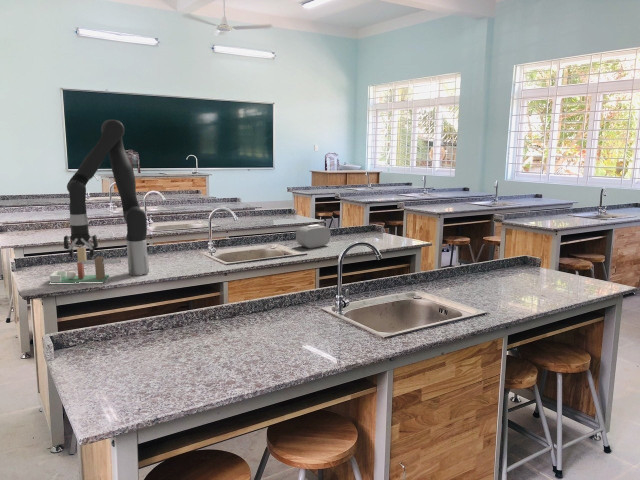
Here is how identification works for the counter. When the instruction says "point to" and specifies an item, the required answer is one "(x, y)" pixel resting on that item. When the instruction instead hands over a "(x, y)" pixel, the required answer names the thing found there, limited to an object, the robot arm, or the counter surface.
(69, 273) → the ball
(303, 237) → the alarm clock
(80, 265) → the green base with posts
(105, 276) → the pitch
